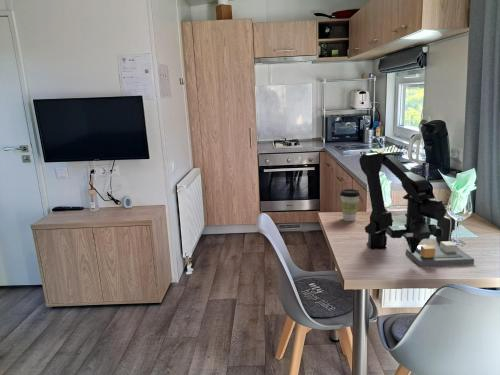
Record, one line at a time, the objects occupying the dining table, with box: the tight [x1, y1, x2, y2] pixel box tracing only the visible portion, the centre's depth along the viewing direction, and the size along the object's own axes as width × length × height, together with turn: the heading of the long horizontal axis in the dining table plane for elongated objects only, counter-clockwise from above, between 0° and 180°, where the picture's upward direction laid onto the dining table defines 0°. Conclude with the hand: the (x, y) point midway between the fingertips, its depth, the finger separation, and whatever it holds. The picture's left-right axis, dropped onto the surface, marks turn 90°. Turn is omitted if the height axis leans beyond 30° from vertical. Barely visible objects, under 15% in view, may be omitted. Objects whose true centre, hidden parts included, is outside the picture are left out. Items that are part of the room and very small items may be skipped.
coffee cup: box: [339, 188, 361, 222], centre depth 191 cm, size 10×10×15 cm
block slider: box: [420, 244, 435, 258], centre depth 140 cm, size 4×3×4 cm
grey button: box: [416, 244, 427, 254], centre depth 146 cm, size 4×4×3 cm
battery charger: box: [435, 214, 456, 242], centre depth 158 cm, size 7×4×11 cm, turn 15°
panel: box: [405, 246, 475, 267], centre depth 143 cm, size 20×12×2 cm, turn 91°
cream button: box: [439, 240, 457, 253], centre depth 146 cm, size 4×4×3 cm
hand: (412, 252), depth 140 cm, fingers closed
